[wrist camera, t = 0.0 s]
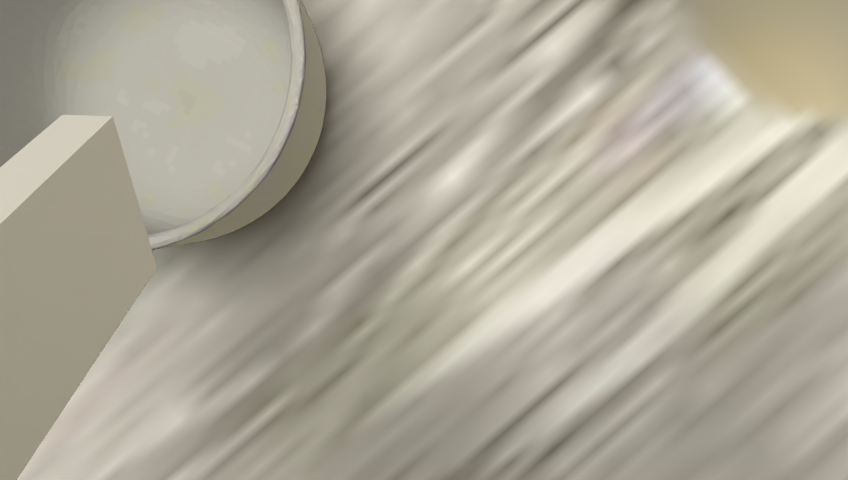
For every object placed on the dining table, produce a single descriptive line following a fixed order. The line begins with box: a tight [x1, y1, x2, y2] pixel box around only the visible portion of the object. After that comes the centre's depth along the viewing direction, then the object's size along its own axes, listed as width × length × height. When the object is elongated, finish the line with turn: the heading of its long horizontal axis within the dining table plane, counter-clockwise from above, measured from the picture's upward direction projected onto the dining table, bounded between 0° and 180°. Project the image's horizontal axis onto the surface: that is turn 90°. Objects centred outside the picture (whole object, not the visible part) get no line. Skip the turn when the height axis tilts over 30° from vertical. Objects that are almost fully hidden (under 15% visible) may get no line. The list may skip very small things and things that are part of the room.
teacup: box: [0, 0, 326, 250], centre depth 23 cm, size 14×11×8 cm
